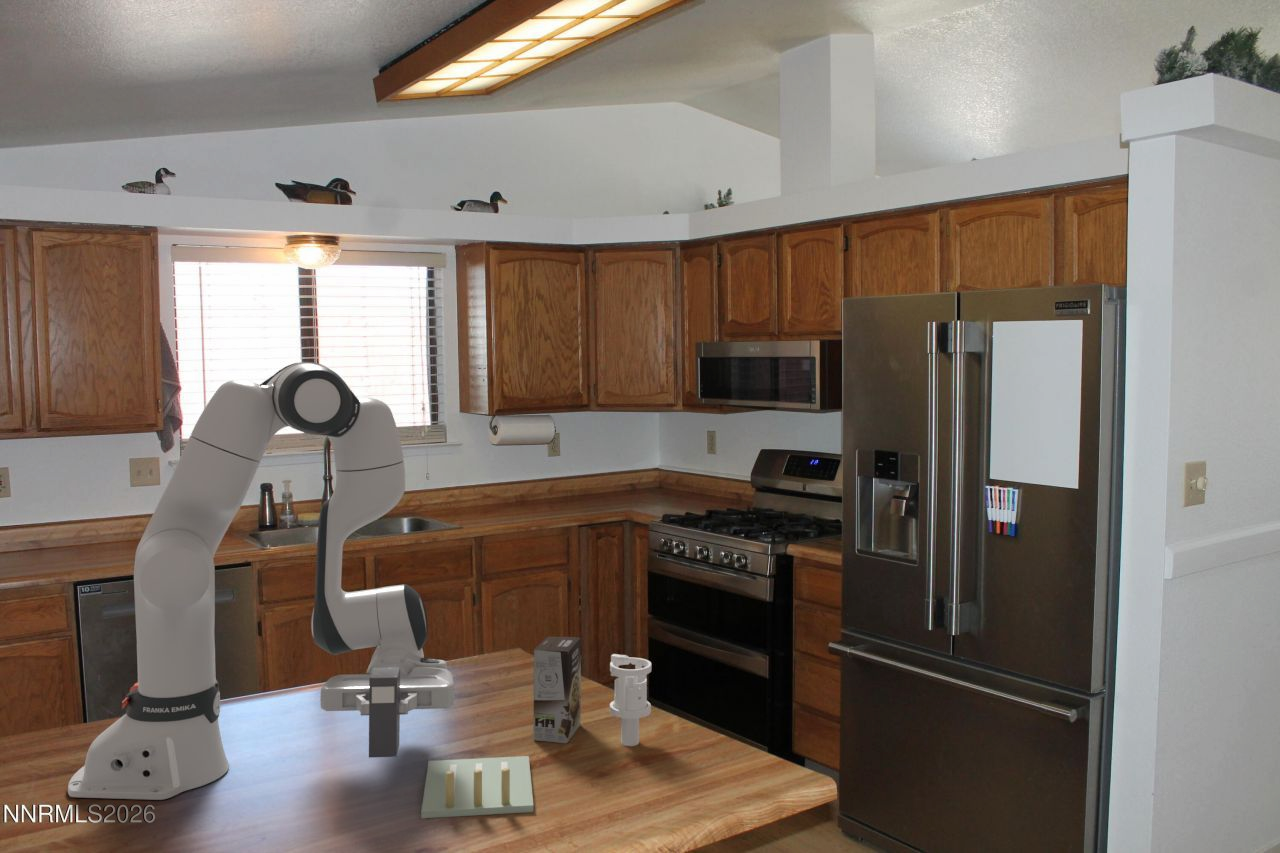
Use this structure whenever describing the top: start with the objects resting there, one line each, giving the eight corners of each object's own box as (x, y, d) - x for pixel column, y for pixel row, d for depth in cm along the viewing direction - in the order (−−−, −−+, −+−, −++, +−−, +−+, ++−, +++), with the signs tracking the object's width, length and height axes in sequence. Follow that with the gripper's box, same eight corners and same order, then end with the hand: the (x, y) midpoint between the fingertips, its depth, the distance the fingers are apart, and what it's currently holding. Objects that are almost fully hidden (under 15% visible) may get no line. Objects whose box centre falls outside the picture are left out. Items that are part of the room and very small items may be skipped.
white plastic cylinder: (620, 732, 179) (621, 648, 178) (657, 739, 176) (658, 654, 175) (602, 746, 173) (602, 659, 172) (639, 753, 170) (640, 665, 169)
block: (368, 758, 150) (369, 678, 150) (372, 744, 156) (373, 667, 155) (396, 757, 151) (397, 678, 150) (399, 743, 156) (400, 667, 155)
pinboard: (421, 818, 146) (421, 777, 146) (428, 766, 164) (428, 730, 163) (533, 811, 148) (533, 772, 148) (528, 761, 166) (528, 726, 166)
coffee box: (568, 744, 174) (568, 651, 172) (532, 741, 175) (532, 649, 174) (582, 724, 183) (582, 636, 181) (547, 722, 184) (547, 634, 183)
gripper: (326, 662, 164) (312, 690, 150) (455, 660, 167) (452, 688, 153) (326, 700, 164) (311, 732, 151) (455, 697, 167) (452, 728, 154)
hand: (384, 710), depth 152 cm, fingers closed on block, 4 cm apart
